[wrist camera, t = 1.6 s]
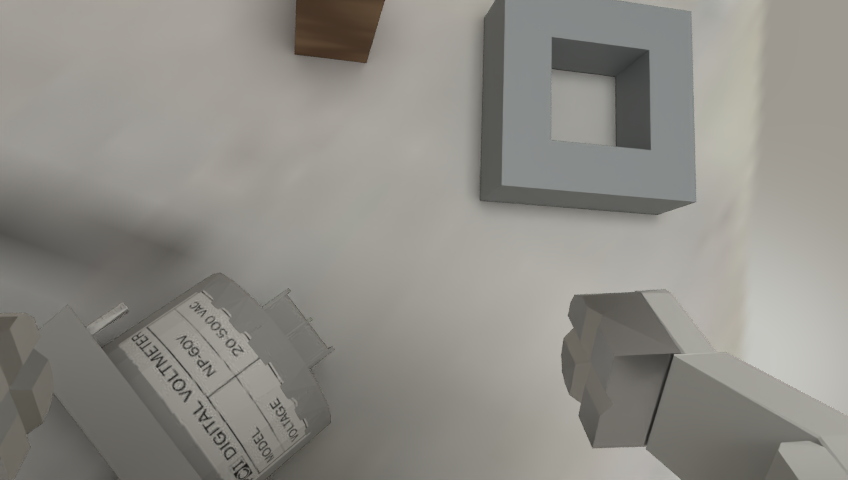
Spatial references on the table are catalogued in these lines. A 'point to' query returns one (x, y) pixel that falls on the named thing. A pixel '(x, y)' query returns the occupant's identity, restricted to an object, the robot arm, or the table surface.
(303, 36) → the walnut peg
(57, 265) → the table surface
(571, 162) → the slate socket
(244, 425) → the voltmeter
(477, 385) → the table surface
